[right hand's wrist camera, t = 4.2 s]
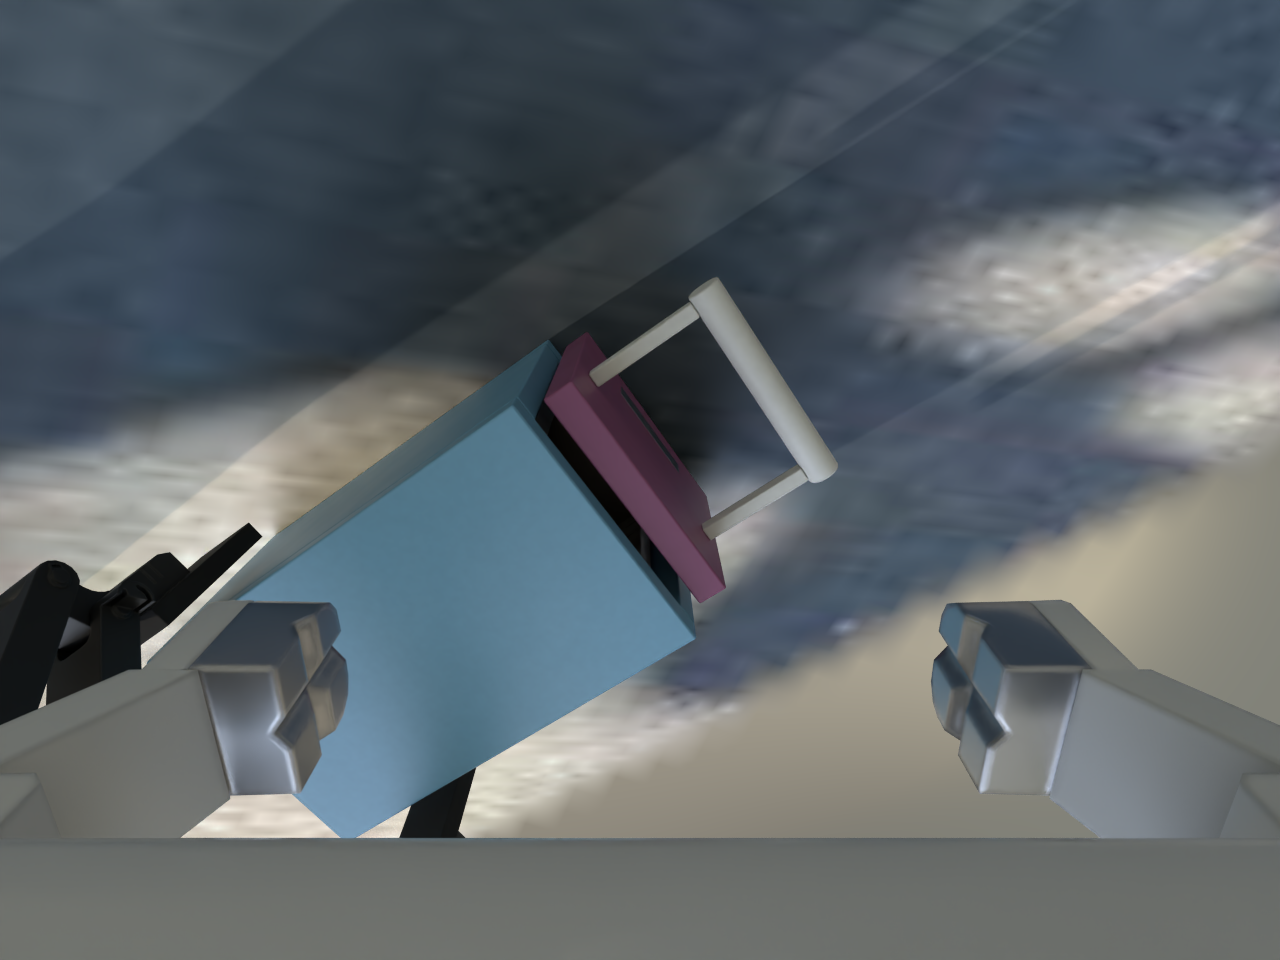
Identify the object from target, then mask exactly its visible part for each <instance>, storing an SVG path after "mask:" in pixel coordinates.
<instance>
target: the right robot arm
mask: <svg viewBox="0 0 1280 960" xmlns="http://www.w3.org/2000/svg"><path fill="white" fill-rule="evenodd" d="M340 632H341V628H340V623H339V618H338V613H337V609H336V608H335V607H334V606H333V605H332V604H331V603H330V602H294V601H253V600H235V601H216V602H210V603H209V604H208V605H207V606H206V607H205V608H204V609H203V610H202V611H201V612H200V613H199V614H198V615H197V616H196V617H195V618H194V619H193V620H192V621H191V622H190V623H189V624H188V625H187V626H186V627H185V628H184V629H183V630H182V631H181V632H180V633H178V634H177V635H176V636H175V637H174V638H173V639H172V640H171V641H170V642H169V643H168V644H167V645H166V646H165V647H164V648H163V649H162V650H161V651H160V652H159V653H158V654H157V655H156V656H155V657H154V658H153V659H152V660H151V661H150V662H149V663H148V664H147V665H146V666H145V667H144V668H143V669H142V670H127V671H125V672H122V673H120V674H118V675H115V676H113V677H111V678H108V679H106V680H104V681H102V682H99V683H97V684H95V685H92V686H90V687H88V688H85V689H83V690H81V691H78V692H76V693H74V694H71V695H69V696H67V697H64V698H62V699H60V700H58V701H55V702H53V703H51V704H48V705H46V706H44V707H41V708H39V709H37V710H34V711H32V712H30V713H27V714H25V715H23V716H21V717H18V718H16V719H14V720H11V721H9V722H7V723H4V724H2V725H0V960H1280V725H1277V724H1275V723H1273V722H1271V721H1268V720H1266V719H1264V718H1261V717H1259V716H1257V715H1255V714H1252V713H1250V712H1248V711H1245V710H1243V709H1241V708H1238V707H1236V706H1234V705H1231V704H1229V703H1227V702H1225V701H1222V700H1220V699H1218V698H1215V697H1213V696H1211V695H1208V694H1206V693H1204V692H1201V691H1199V690H1197V689H1195V688H1192V687H1190V686H1188V685H1185V684H1183V683H1181V682H1178V681H1176V680H1174V679H1171V678H1169V677H1167V676H1165V675H1162V674H1160V673H1158V672H1155V671H1153V670H1138V669H1137V668H1136V667H1135V666H1134V665H1133V664H1132V663H1131V662H1130V661H1129V660H1128V659H1127V658H1126V657H1125V656H1124V655H1123V654H1122V653H1121V652H1120V651H1119V650H1118V649H1117V648H1116V647H1115V646H1114V645H1113V644H1112V643H1111V642H1110V641H1109V640H1108V639H1107V638H1106V637H1105V636H1104V635H1103V634H1102V633H1101V632H1100V631H1099V630H1098V629H1097V628H1096V627H1095V626H1093V625H1092V624H1091V623H1090V622H1089V621H1088V620H1087V619H1086V618H1085V617H1084V616H1083V615H1082V614H1081V613H1080V612H1079V611H1078V610H1077V609H1076V608H1075V607H1074V606H1073V605H1072V604H1071V603H1068V602H1065V601H1062V600H1046V601H1011V602H971V603H950V604H947V605H946V607H945V609H944V611H943V613H942V616H941V622H940V627H939V632H940V634H941V635H942V637H943V639H944V640H945V642H946V643H947V645H948V646H947V647H946V648H945V649H944V650H943V651H942V652H941V653H940V654H939V655H938V656H937V657H936V658H935V659H934V663H933V671H932V679H931V686H932V697H933V704H934V707H935V710H936V714H937V717H938V719H939V721H940V722H941V724H942V726H943V728H944V730H945V731H946V732H948V733H949V734H951V735H952V736H954V737H956V738H957V739H959V740H960V747H959V752H958V756H959V757H960V759H961V761H962V763H963V765H964V766H965V768H966V770H967V772H968V773H969V775H970V777H971V779H972V781H973V782H974V784H975V786H976V788H977V790H978V791H979V793H980V794H1015V795H1050V799H1051V800H1052V801H1053V802H1055V803H1056V804H1057V805H1059V806H1060V807H1061V808H1063V809H1064V810H1065V811H1066V812H1068V813H1069V814H1070V815H1072V816H1073V817H1074V818H1075V819H1077V820H1078V821H1079V822H1081V823H1082V824H1083V825H1084V826H1086V827H1087V828H1088V829H1090V830H1091V831H1092V832H1094V833H1095V834H1096V835H1097V836H1099V837H1100V838H180V837H182V836H183V835H184V834H185V833H187V832H188V831H189V830H191V829H192V828H193V827H195V826H196V825H197V824H198V823H200V822H201V821H202V820H204V819H205V818H206V817H207V816H209V815H210V814H211V813H213V812H214V811H215V810H217V809H218V808H219V807H220V806H222V805H223V804H224V803H226V802H227V801H228V800H229V799H230V795H264V794H300V793H301V792H302V790H303V788H304V786H305V784H306V783H307V781H308V779H309V777H310V775H311V774H312V772H313V770H314V768H315V766H316V765H317V763H318V761H319V759H320V757H321V756H322V752H321V747H320V740H321V739H323V738H325V737H326V736H328V735H329V734H331V733H332V732H334V731H335V730H336V728H337V726H338V724H339V722H340V721H341V719H342V717H343V715H344V710H345V706H346V702H347V697H348V669H347V663H346V659H345V658H344V657H343V656H342V655H341V654H340V653H339V652H338V651H337V650H336V649H335V648H334V647H333V646H332V645H333V643H334V642H335V640H336V639H337V637H338V635H339V634H340Z"/></svg>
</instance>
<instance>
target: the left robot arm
mask: <svg viewBox="0 0 1280 960" xmlns="http://www.w3.org/2000/svg"><path fill="white" fill-rule="evenodd" d="M261 537H262V536H261V535H260V534H259V533H258V532H257V531H256V530H255V528H254V527H253V526H252V525H251V524H250V523H248V524H246V525H245V526H243V527H242V528H241V529H239V530H238V531H237V532H235V533H234V534H232V535H231V536H230V537H228V538H227V539H226V540H224V541H223V542H221V543H220V544H219V545H217V546H216V547H215V548H213V549H212V550H211V551H209V552H208V553H206V554H205V555H204V556H202V557H201V558H200V559H199V560H198V561H196V562H195V563H194V564H193V565H192V566H191V567H189V568H188V569H187V568H186V567H185V566H184V565H183V564H182V563H181V562H180V561H178V560H177V559H176V558H175V557H174V556H173V555H172V554H171V553H170V552H169V553H163V554H158V555H156V556H155V557H153V558H152V559H151V560H149V561H148V562H147V563H145V564H144V565H143V566H141V567H140V568H139V569H137V570H136V571H135V572H133V573H132V574H131V575H129V576H128V577H127V578H125V579H124V580H123V581H122V582H120V583H119V584H118V585H116V586H115V587H114V588H113V589H111V590H110V591H106V592H97V591H92V590H89V589H87V588H85V587H83V586H81V585H79V583H80V580H79V577H78V575H77V573H76V572H75V571H74V570H73V568H72V567H70V566H69V565H67V564H65V563H63V562H59V561H56V560H55V561H46V562H44V563H42V564H40V565H39V566H37V567H36V568H35V569H34V570H32V571H31V572H30V573H28V574H27V575H26V576H25V577H23V578H22V579H21V580H19V581H18V582H17V583H16V584H14V585H13V586H12V587H10V588H9V589H8V590H7V591H5V592H4V593H3V594H1V595H0V725H2V724H4V723H7V722H9V721H11V720H14V719H16V718H18V717H21V716H23V715H25V714H27V713H30V712H32V711H34V710H37V709H38V707H39V704H40V701H41V698H42V695H43V693H44V690H45V687H46V684H47V693H46V705H48V704H51V703H53V702H55V701H58V700H60V699H62V698H64V697H67V696H69V695H71V694H74V693H76V692H78V691H81V690H83V689H85V688H88V687H90V686H92V685H95V684H97V683H99V682H102V681H104V680H106V679H108V678H111V677H113V676H115V675H118V674H120V673H122V672H125V671H127V670H141V645H142V644H143V643H144V642H146V641H147V640H149V639H150V638H151V637H153V636H154V635H156V634H157V633H158V632H160V631H161V630H163V629H164V628H165V627H167V626H168V625H169V624H170V623H171V622H173V621H174V620H175V619H176V618H177V617H178V616H179V615H180V614H181V613H182V612H183V611H184V610H185V609H186V608H187V607H188V606H189V605H191V604H192V603H193V602H194V601H195V600H196V599H197V598H198V597H199V596H200V595H201V594H202V593H203V592H204V591H205V590H206V589H207V588H208V587H210V586H211V585H212V584H213V583H214V582H215V581H216V580H217V579H218V578H219V577H220V576H221V575H222V574H223V573H224V572H225V571H226V570H228V569H229V568H230V567H231V566H232V565H233V564H234V563H235V562H236V561H237V560H238V559H239V558H240V557H241V556H242V555H243V554H244V553H246V552H247V551H248V550H249V549H250V548H251V547H252V546H253V545H254V544H255V543H256V542H257V541H258V540H259V539H260V538H261ZM475 770H476V768H474V769H472V770H470V771H469V772H467V773H465V774H464V775H462V776H460V777H458V778H457V779H455V780H453V781H452V782H450V783H448V784H447V785H445V786H443V787H441V788H440V789H438V790H436V791H435V792H433V793H431V794H429V795H428V796H426V797H424V798H423V799H421V800H419V801H418V802H416V803H414V804H412V805H411V807H410V810H409V813H408V816H407V818H406V821H405V824H404V827H403V829H402V832H401V835H400V837H399V838H465V837H464V836H463V835H462V834H461V833H460V832H459V831H458V830H459V827H460V823H461V820H462V816H463V812H464V809H465V805H466V802H467V798H468V795H469V791H470V788H471V784H472V781H473V777H474V773H475Z"/></svg>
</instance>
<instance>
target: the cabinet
mask: <svg viewBox="0 0 1280 960" xmlns="http://www.w3.org/2000/svg"><path fill="white" fill-rule="evenodd" d="M561 358H562V357H561V355H560V354H559V353H558V351H557V350H556V348H555V347H554V346H553V344H552V343H551V342H550V341H549V340H547V341H545V342H544V343H543V344H541V345H540V346H539V347H537V348H536V349H534V350H533V351H532V352H530V353H529V354H527V355H526V356H525V357H523V358H522V359H520V360H519V361H518V362H516V363H515V364H513V365H512V366H511V367H509V368H508V369H507V370H505V371H504V372H502V373H501V374H500V375H498V376H497V377H495V378H494V379H493V380H491V381H490V382H488V383H487V384H486V385H484V386H483V387H481V388H480V389H479V390H477V391H476V392H475V393H473V394H472V395H470V396H469V397H468V398H466V399H465V400H463V401H462V402H461V403H459V404H458V405H456V406H455V407H454V408H452V409H451V410H449V411H448V412H447V413H445V414H444V415H442V416H441V417H440V418H438V419H437V420H436V421H434V422H433V423H431V424H430V425H429V426H427V427H426V428H424V429H423V430H422V431H420V432H419V433H417V434H416V435H415V436H413V437H412V438H410V439H409V440H408V441H406V442H405V443H404V444H402V445H401V446H399V447H398V448H397V449H395V450H394V451H392V452H391V453H390V454H388V455H387V456H385V457H384V458H383V459H381V460H380V461H378V462H377V463H376V464H374V465H373V466H372V467H370V468H369V469H367V470H366V471H365V472H363V473H362V474H360V475H359V476H358V477H356V478H355V479H353V480H352V481H351V482H349V483H348V484H346V485H345V486H344V487H342V488H341V489H340V490H338V491H337V492H335V493H334V494H333V495H331V496H330V497H328V498H327V499H326V500H324V501H323V502H321V503H320V504H319V505H317V506H316V507H314V508H313V509H312V510H310V511H309V512H307V513H306V514H305V515H303V516H302V517H301V518H299V519H298V520H296V521H295V522H294V523H292V524H291V525H289V526H288V527H287V528H285V529H284V530H282V531H281V532H280V533H278V534H277V535H275V536H274V537H273V538H272V539H271V540H270V541H269V542H268V543H267V544H266V545H265V546H264V547H263V548H262V549H261V550H260V551H259V552H258V553H257V554H256V555H255V556H254V557H253V558H252V559H251V560H250V561H249V562H248V563H247V564H246V565H245V566H244V567H243V568H242V569H241V570H240V571H239V572H238V573H237V574H236V575H235V576H234V577H233V578H231V579H230V580H229V581H228V582H227V583H226V584H225V585H224V586H223V587H222V588H221V589H220V590H219V591H218V592H217V593H216V594H215V595H214V596H213V597H212V598H211V599H210V600H209V601H208V602H207V603H206V604H205V605H204V606H203V607H202V608H201V609H200V610H199V611H198V612H197V613H196V614H195V615H194V616H193V617H192V618H191V619H190V620H189V621H188V622H187V623H186V624H185V625H184V626H183V627H182V628H181V629H180V630H179V631H178V632H177V633H176V634H175V635H174V636H173V637H172V638H171V639H170V640H169V641H168V642H167V643H166V644H165V645H164V646H163V647H162V648H161V649H160V650H159V651H158V652H157V653H156V654H155V655H154V656H153V657H152V658H151V659H150V660H149V661H148V662H147V664H148V663H149V662H150V661H151V660H152V659H153V658H154V657H155V656H156V655H157V654H158V653H159V652H160V651H161V650H162V649H163V648H164V647H165V646H166V645H167V644H168V643H169V642H170V641H171V640H172V639H173V638H174V637H175V636H176V635H177V634H178V633H180V632H181V631H182V630H183V629H184V628H185V627H186V626H187V625H188V624H189V623H190V622H191V621H192V620H193V619H194V618H195V617H196V616H197V615H198V614H199V613H200V612H201V611H202V610H203V609H204V608H205V607H206V606H207V605H208V604H209V603H210V602H216V601H235V600H253V601H294V602H330V603H331V604H332V605H333V606H334V607H335V608H336V609H337V613H338V618H339V623H340V628H341V632H340V634H339V635H338V637H337V639H336V640H335V642H334V643H333V645H332V646H333V647H334V648H335V649H336V650H337V651H338V652H339V653H340V654H341V655H342V656H343V657H344V658H345V659H346V663H347V669H348V697H347V702H346V706H345V710H344V715H343V717H342V719H341V721H340V722H339V724H338V726H337V728H336V730H335V731H334V732H332V733H331V734H329V735H328V736H326V737H325V738H323V739H321V740H320V747H321V752H322V756H321V757H320V759H319V761H318V763H317V765H316V766H315V768H314V770H313V772H312V774H311V775H310V777H309V779H308V781H307V783H306V784H305V786H304V788H303V790H302V792H301V793H300V794H292V795H294V796H295V797H296V798H297V799H298V800H299V801H300V802H301V803H303V804H304V805H305V806H306V807H307V808H308V809H309V810H310V811H311V812H313V813H314V814H315V815H316V816H317V817H318V818H319V819H320V820H322V821H323V822H324V823H325V824H326V825H327V826H328V827H329V828H330V829H332V830H333V831H334V832H335V833H336V834H337V835H338V836H339V837H340V838H356V837H358V836H359V835H361V834H363V833H365V832H366V831H368V830H370V829H371V828H373V827H375V826H377V825H378V824H380V823H382V822H383V821H385V820H387V819H388V818H390V817H392V816H394V815H395V814H397V813H399V812H400V811H402V810H404V809H406V808H407V807H409V806H411V805H412V804H414V803H416V802H418V801H419V800H421V799H423V798H424V797H426V796H428V795H429V794H431V793H433V792H435V791H436V790H438V789H440V788H441V787H443V786H445V785H447V784H448V783H450V782H452V781H453V780H455V779H457V778H458V777H460V776H462V775H464V774H465V773H467V772H469V771H470V770H472V769H474V768H476V767H477V766H479V765H481V764H482V763H484V762H486V761H488V760H489V759H491V758H493V757H494V756H496V755H498V754H499V753H501V752H503V751H505V750H506V749H508V748H510V747H511V746H513V745H515V744H517V743H518V742H520V741H522V740H523V739H525V738H527V737H528V736H530V735H532V734H534V733H535V732H537V731H539V730H540V729H542V728H544V727H546V726H547V725H549V724H551V723H552V722H554V721H556V720H558V719H559V718H561V717H563V716H564V715H566V714H568V713H569V712H571V711H573V710H575V709H576V708H578V707H580V706H581V705H583V704H585V703H587V702H588V701H590V700H592V699H593V698H595V697H597V696H598V695H600V694H602V693H604V692H605V691H607V690H609V689H610V688H612V687H614V686H616V685H617V684H619V683H621V682H622V681H624V680H626V679H628V678H629V677H631V676H633V675H634V674H636V673H638V672H639V671H641V670H643V669H645V668H646V667H648V666H650V665H651V664H653V663H655V662H657V661H658V660H660V659H662V658H663V657H665V656H667V655H668V654H670V653H672V652H674V651H675V650H677V649H679V648H680V647H682V646H684V645H686V644H687V643H689V642H691V641H692V640H694V639H695V638H696V633H695V625H694V618H693V610H692V602H691V594H690V590H689V589H688V588H687V586H686V585H685V584H684V582H683V581H682V580H681V579H680V577H679V576H678V575H677V573H676V572H675V571H674V569H673V568H672V567H671V566H670V564H669V563H668V562H667V560H666V559H665V558H664V556H663V555H662V554H661V553H660V551H659V550H658V549H657V547H656V546H655V545H654V543H653V542H652V541H651V540H650V553H651V568H650V566H649V565H648V564H647V563H646V561H645V560H644V559H643V558H642V556H641V555H640V554H639V552H638V551H637V550H636V549H635V547H634V546H633V545H632V543H631V542H630V541H629V540H628V538H627V537H626V536H625V535H624V533H623V532H622V531H621V529H620V528H619V527H618V526H617V524H616V523H615V522H614V520H613V519H612V518H611V517H610V515H609V514H608V513H607V511H606V510H605V509H604V508H603V506H602V505H601V504H600V503H599V501H598V500H597V499H596V497H595V496H594V495H593V494H592V492H591V491H590V490H589V488H588V487H587V486H586V485H585V483H584V482H583V481H582V479H581V478H580V477H579V476H578V474H577V473H576V472H575V471H574V469H573V468H572V467H571V465H570V464H569V463H568V462H567V460H566V459H565V458H564V456H563V455H562V454H561V453H560V451H559V450H558V449H557V448H556V446H555V445H554V444H553V442H552V441H551V440H550V439H549V437H548V436H547V435H546V433H545V432H544V431H543V430H542V428H541V427H540V426H539V424H538V423H537V422H536V421H535V418H536V415H537V413H538V411H539V408H540V406H541V404H542V401H543V399H544V397H545V394H546V392H547V389H548V387H549V385H550V384H551V382H552V380H553V377H554V375H555V372H556V370H557V368H558V365H559V363H560V361H561Z"/></svg>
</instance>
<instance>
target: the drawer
mask: <svg viewBox="0 0 1280 960" xmlns="http://www.w3.org/2000/svg"><path fill="white" fill-rule="evenodd" d="M689 300H690V302H688V303H687V304H685V305H684V306H683V307H681V308H680V309H678V310H677V311H675V312H674V313H673V314H671V315H670V316H668V317H667V318H665V319H664V320H663V321H661V322H660V323H658V324H657V325H655V326H654V327H653V328H651V329H650V330H648V331H647V332H645V333H644V334H642V335H641V336H640V337H638V338H637V339H635V340H634V341H632V342H631V343H630V344H628V345H627V346H625V347H624V348H622V349H621V350H620V351H618V352H617V353H615V354H614V355H612V356H611V357H610V358H608V359H607V358H606V357H605V355H604V354H603V352H602V351H601V350H600V348H599V347H598V346H597V344H596V343H595V341H594V340H593V339H592V337H591V336H590V334H589V333H588V332H586V333H584V334H583V335H582V336H580V337H579V338H577V339H576V340H575V341H573V342H572V343H570V344H569V345H568V346H567V347H566V349H565V351H564V353H563V356H562V358H561V361H560V363H559V365H558V368H557V370H556V372H555V375H554V377H553V380H552V382H551V384H550V385H549V387H548V389H547V392H546V394H545V397H544V399H543V401H542V404H541V406H540V408H539V411H538V413H537V415H536V418H535V421H536V422H537V423H538V424H539V426H540V427H541V428H542V430H543V431H544V432H545V433H546V435H547V436H548V437H549V439H550V440H551V441H552V442H553V444H554V445H555V446H556V448H557V449H558V450H559V451H560V453H561V454H562V455H563V456H564V458H565V459H566V460H567V462H568V463H569V464H570V465H571V467H572V468H573V469H574V471H575V472H576V473H577V474H578V476H579V477H580V478H581V479H582V481H583V482H584V483H585V485H586V486H587V487H588V488H589V490H590V491H591V492H592V494H593V495H594V496H595V497H596V499H597V500H598V501H599V503H600V504H601V505H602V506H603V508H604V509H605V510H606V511H607V513H608V514H609V515H610V517H611V518H612V519H613V520H614V522H615V523H616V524H617V526H618V527H619V528H620V529H621V531H622V532H623V533H624V535H625V536H626V537H627V538H628V540H629V541H630V542H631V543H632V545H633V546H634V547H635V549H636V550H637V551H638V552H639V554H640V555H641V556H642V558H643V559H644V560H645V561H646V563H647V564H648V565H649V566H650V568H651V553H650V540H651V541H652V542H653V543H654V545H655V546H656V547H657V549H658V550H659V551H660V553H661V554H662V555H663V556H664V558H665V559H666V560H667V562H668V563H669V564H670V566H671V567H672V568H673V569H674V571H675V572H676V573H677V575H678V576H679V577H680V579H681V580H682V581H683V582H684V584H685V585H686V586H687V588H688V589H689V590H690V592H691V593H692V594H693V595H694V597H695V598H696V599H697V601H698V602H699V603H702V602H703V601H705V600H707V599H708V598H710V597H712V596H713V595H715V594H717V593H718V592H720V591H722V590H723V589H725V588H726V586H725V581H724V576H723V572H722V567H721V562H720V558H719V553H718V548H717V544H716V539H715V537H717V536H719V535H720V534H722V533H724V532H725V531H727V530H728V529H730V528H732V527H733V526H735V525H737V524H738V523H740V522H741V521H743V520H745V519H746V518H748V517H750V516H751V515H753V514H754V513H756V512H758V511H759V510H761V509H763V508H764V507H766V506H767V505H769V504H771V503H772V502H774V501H776V500H777V499H779V498H780V497H782V496H784V495H785V494H787V493H789V492H790V491H792V490H793V489H795V488H797V487H798V486H800V485H802V484H803V483H805V482H807V481H808V480H809V481H810V482H812V483H817V482H821V481H823V480H825V479H827V478H829V477H830V476H831V475H832V474H834V472H835V471H836V470H837V468H838V463H837V462H836V460H835V458H834V457H833V455H832V454H831V452H830V451H829V449H828V448H827V446H826V444H825V443H824V441H823V440H822V438H821V437H820V435H819V434H818V432H817V430H816V429H815V427H814V426H813V424H812V423H811V421H810V420H809V418H808V416H807V415H806V413H805V412H804V410H803V409H802V407H801V406H800V404H799V402H798V401H797V399H796V398H795V396H794V395H793V393H792V391H791V390H790V388H789V387H788V385H787V384H786V382H785V381H784V379H783V377H782V376H781V374H780V373H779V371H778V370H777V368H776V367H775V365H774V363H773V362H772V360H771V359H770V357H769V356H768V354H767V353H766V351H765V349H764V348H763V346H762V345H761V343H760V342H759V340H758V339H757V337H756V335H755V334H754V332H753V331H752V329H751V328H750V326H749V325H748V323H747V321H746V320H745V318H744V317H743V315H742V314H741V312H740V311H739V309H738V307H737V306H736V304H735V303H734V301H733V300H732V298H731V297H730V295H729V293H728V292H727V290H726V289H725V287H724V286H723V284H722V283H721V281H720V279H719V278H717V277H715V278H712V279H710V280H708V281H707V282H705V283H704V284H702V285H701V286H699V287H698V288H697V289H695V290H694V291H693V292H692V293H691V294H690V296H689ZM699 315H700V317H701V318H702V320H703V321H704V323H705V324H706V326H707V327H708V329H709V330H710V332H711V333H712V335H713V336H714V338H715V339H716V341H717V342H718V344H719V345H720V347H721V349H722V350H723V352H724V353H725V355H726V356H727V358H728V359H729V361H730V362H731V364H732V365H733V367H734V368H735V370H736V371H737V373H738V374H739V376H740V377H741V379H742V380H743V382H744V383H745V385H746V386H747V388H748V389H749V391H750V392H751V394H752V395H753V397H754V398H755V400H756V401H757V403H758V404H759V406H760V407H761V409H762V410H763V412H764V413H765V415H766V416H767V418H768V419H769V421H770V422H771V424H772V425H773V427H774V428H775V430H776V431H777V433H778V434H779V436H780V437H781V439H782V440H783V442H784V444H785V445H786V447H787V448H788V450H789V451H790V453H791V454H792V456H793V457H794V459H795V460H796V462H797V463H798V464H797V465H796V466H794V467H792V468H791V469H789V470H788V471H786V472H784V473H783V474H781V475H780V476H778V477H776V478H775V479H773V480H772V481H770V482H768V483H767V484H765V485H764V486H762V487H760V488H759V489H757V490H756V491H754V492H752V493H751V494H749V495H747V496H746V497H744V498H743V499H741V500H739V501H738V502H736V503H735V504H733V505H731V506H730V507H728V508H727V509H725V510H723V511H722V512H720V513H719V514H717V515H715V516H714V517H712V518H711V516H710V511H709V506H708V502H707V497H706V495H705V494H704V492H703V491H702V489H701V488H700V487H699V485H698V484H697V483H696V481H695V480H694V478H693V477H692V476H691V474H690V473H689V471H688V470H687V469H686V467H685V466H684V465H683V463H682V462H681V460H680V459H679V458H678V456H677V455H676V453H675V452H674V451H673V449H672V448H671V447H670V445H669V444H668V442H667V441H666V440H665V438H664V437H663V436H662V434H661V433H660V431H659V430H658V429H657V427H656V426H655V424H654V423H653V422H652V420H651V419H650V418H649V416H648V415H647V413H646V412H645V411H644V409H643V408H642V406H641V405H640V404H639V402H638V401H637V400H636V398H635V397H634V395H633V394H632V393H631V391H630V390H629V388H628V387H627V386H626V384H625V383H624V382H623V380H622V379H621V377H620V376H619V375H618V373H620V372H621V371H623V370H624V369H626V368H627V367H628V366H630V365H631V364H633V363H634V362H636V361H637V360H639V359H640V358H642V357H643V356H644V355H646V354H647V353H649V352H650V351H652V350H653V349H655V348H656V347H657V346H659V345H660V344H662V343H663V342H665V341H666V340H668V339H669V338H670V337H672V336H673V335H675V334H676V333H678V332H679V331H681V330H682V329H684V328H685V327H686V326H688V325H689V324H691V323H692V322H694V321H695V320H697V319H698V318H699Z"/></svg>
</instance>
